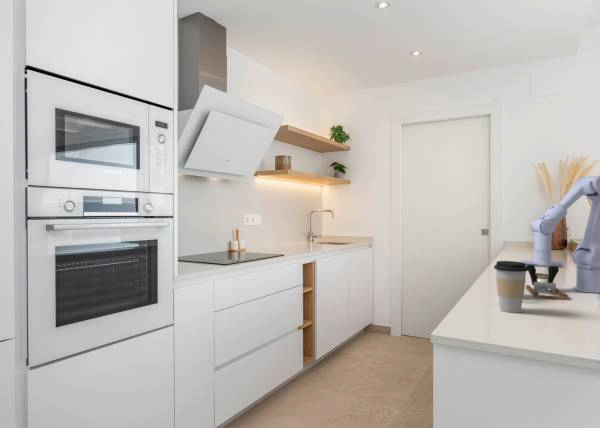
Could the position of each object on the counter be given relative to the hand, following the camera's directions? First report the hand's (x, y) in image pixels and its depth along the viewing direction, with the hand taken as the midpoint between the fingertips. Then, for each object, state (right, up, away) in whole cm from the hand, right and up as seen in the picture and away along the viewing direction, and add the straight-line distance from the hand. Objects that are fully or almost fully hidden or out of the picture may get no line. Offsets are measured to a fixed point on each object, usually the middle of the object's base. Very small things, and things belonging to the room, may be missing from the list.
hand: (541, 285), depth 155 cm
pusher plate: (-2, -2, -7) cm, 8 cm away
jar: (0, -2, +1) cm, 2 cm away
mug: (-19, -3, -12) cm, 23 cm away
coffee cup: (-27, -3, -29) cm, 39 cm away
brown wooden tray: (-2, -2, -5) cm, 5 cm away
